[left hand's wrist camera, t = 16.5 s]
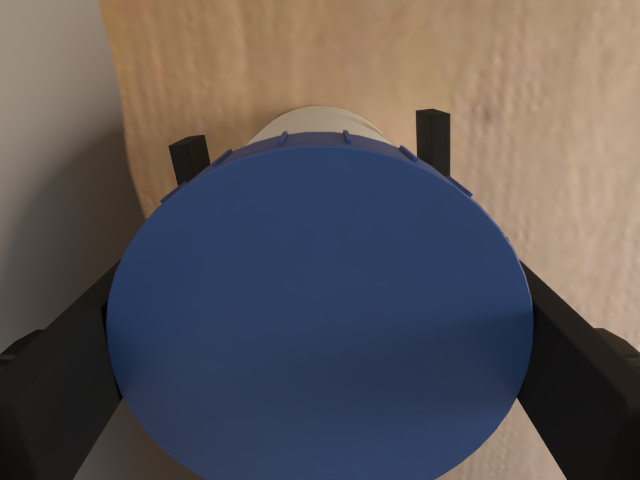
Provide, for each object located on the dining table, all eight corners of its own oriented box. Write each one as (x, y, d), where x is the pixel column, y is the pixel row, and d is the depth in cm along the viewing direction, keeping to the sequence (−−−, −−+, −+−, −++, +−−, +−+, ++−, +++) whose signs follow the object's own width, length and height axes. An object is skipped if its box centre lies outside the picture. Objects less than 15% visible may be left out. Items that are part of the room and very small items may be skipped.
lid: (63, 268, 12) (7, 310, 10) (381, 39, 10) (399, 29, 8) (279, 487, 15) (272, 556, 13) (556, 349, 13) (603, 404, 11)
